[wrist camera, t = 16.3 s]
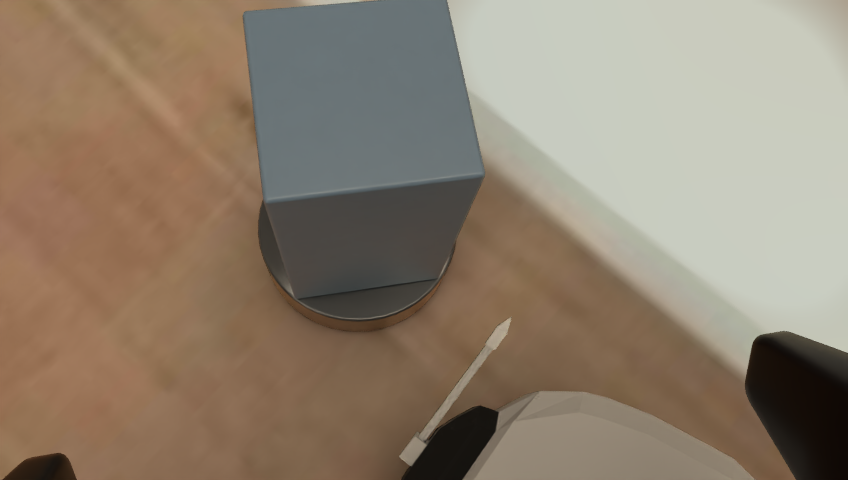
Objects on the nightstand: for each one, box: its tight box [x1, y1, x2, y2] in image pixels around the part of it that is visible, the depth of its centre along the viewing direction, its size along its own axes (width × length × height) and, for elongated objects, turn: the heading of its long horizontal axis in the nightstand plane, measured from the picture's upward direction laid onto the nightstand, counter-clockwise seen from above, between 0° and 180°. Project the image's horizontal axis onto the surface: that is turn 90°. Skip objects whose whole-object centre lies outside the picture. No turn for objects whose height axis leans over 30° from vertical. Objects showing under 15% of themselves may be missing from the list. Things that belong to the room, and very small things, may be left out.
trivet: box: [258, 201, 456, 332], centre depth 20 cm, size 6×6×2 cm
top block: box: [243, 0, 485, 299], centre depth 16 cm, size 4×4×7 cm
